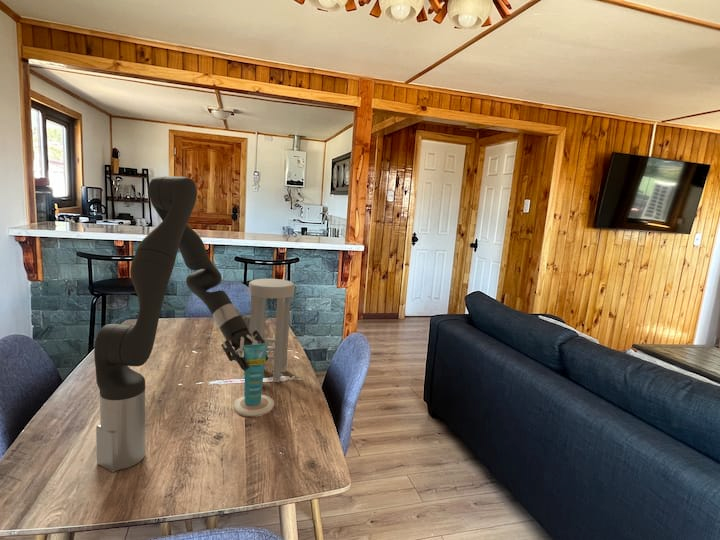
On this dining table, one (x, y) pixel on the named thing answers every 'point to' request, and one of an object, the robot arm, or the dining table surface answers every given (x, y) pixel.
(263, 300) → the stool
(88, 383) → the dining table surface
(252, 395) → the tube
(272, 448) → the dining table surface
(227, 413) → the dining table surface
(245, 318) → the mineral rock
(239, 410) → the coaster
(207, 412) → the dining table surface
